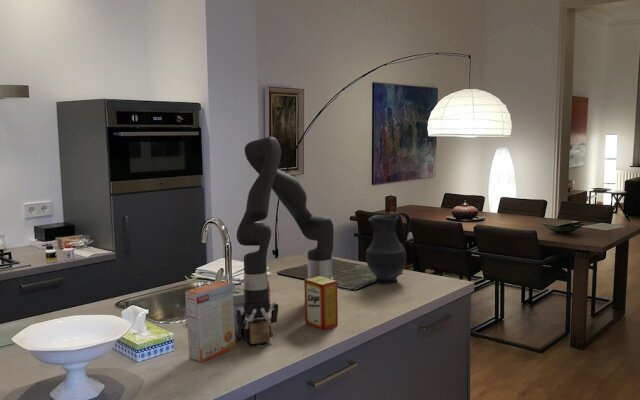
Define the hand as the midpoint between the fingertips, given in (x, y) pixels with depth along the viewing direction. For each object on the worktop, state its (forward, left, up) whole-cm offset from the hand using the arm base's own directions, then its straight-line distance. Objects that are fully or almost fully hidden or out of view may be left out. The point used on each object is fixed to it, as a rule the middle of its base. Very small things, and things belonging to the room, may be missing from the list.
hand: (257, 337), depth 187 cm
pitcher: (-74, -45, -2) cm, 86 cm away
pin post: (0, 0, -2) cm, 2 cm away
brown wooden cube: (0, 0, -1) cm, 1 cm away
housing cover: (0, -11, -2) cm, 11 cm away
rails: (0, -11, -2) cm, 11 cm away
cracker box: (+15, +2, -2) cm, 15 cm away
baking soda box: (-25, -7, -2) cm, 26 cm away
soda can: (-11, -31, -2) cm, 33 cm away
